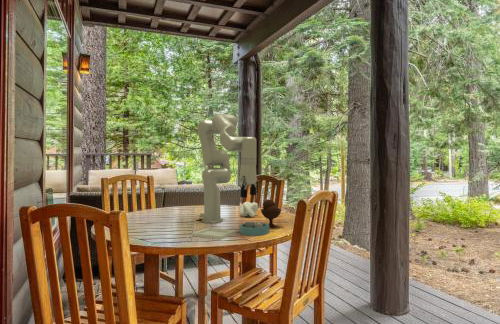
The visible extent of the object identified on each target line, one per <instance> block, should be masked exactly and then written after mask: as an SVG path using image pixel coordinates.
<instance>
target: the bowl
mask: <svg viewBox="0 0 500 324" xmlns="http://www.w3.org/2000/svg"><path fill="white" fill-rule="evenodd" d="M253 222H254V223H256V222H255V221H253ZM262 223H263V227H259V228H249V227H245V222H244V223H241V224H239V225H238V232H239V233H240V234H241V235H244V236H251V237H254V236H264V235H267V234H269V233H270V228H269V225H268V224H269V223H265V222H262Z"/></svg>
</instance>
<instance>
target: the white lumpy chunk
mask: <svg viewBox="0 0 500 324" xmlns="http://www.w3.org/2000/svg"><path fill="white" fill-rule="evenodd" d="M258 210H259V203H257V202H250V201H245V202H243V203H242V204H241V205H240V208H239V214H240V216H241V217H247V216H249V217H251V218H254V217H255V215H256V214H257V212H258Z"/></svg>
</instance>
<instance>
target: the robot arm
mask: <svg viewBox="0 0 500 324" xmlns="http://www.w3.org/2000/svg"><path fill="white" fill-rule="evenodd" d="M237 126H238V119H237V117H236V116H235V115H234V114H231V113H230V114H227V113H217V114H214V115H213V116H212V117H211V119H202V120H201V121H199V122H198V124H197V134H198V139H199V140H200V141H199V142H200V145H201V155H202V162H203V164H204V165H205V166H207V167H208V168H205V169H203V171H202V173H201V179H202V184H203V211H204V212H203V213H200V214H199V218H202V219H201V222H202V223H205V224H217V223H222V222H224V219H223V218H222V217H221V190H220V188H219V187H218V185H219V184H228V183H229V182H231V178H232V171H231V161H230V156H229V153H228V152H240V153H241V154H240V155H241V156H240V157H241V159H240V168H239V170H240V171H239V181H238V182H239V188H240V198H245V199H246V198H247V197H248V186H249V194H250V195H249V196H256V195H257V184H258V182H257V181H258V177H257V138H256V137H255V136H235V134H236V130H237V129H236V128H237ZM212 135H219V142H220V144H221V146H222V147H223V148H224V149H217V147H216V146H217V145H216V140H215V139H214V138H213V137H212ZM227 151H228V152H227ZM210 166H211V167H210ZM214 166H216V167H214ZM217 166H218V167H217Z"/></svg>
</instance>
